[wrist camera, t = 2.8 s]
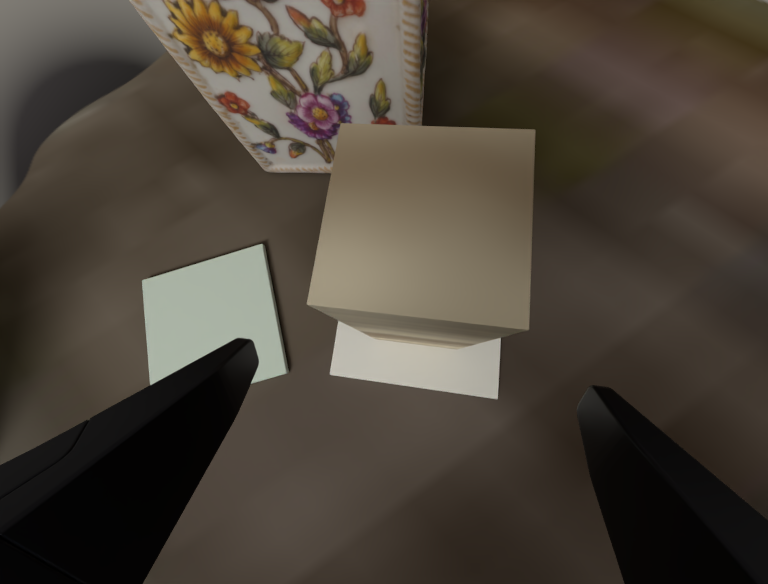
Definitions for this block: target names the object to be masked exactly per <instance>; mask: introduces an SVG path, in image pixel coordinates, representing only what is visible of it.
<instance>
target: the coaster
mask: <svg viewBox="0 0 768 584" xmlns="http://www.w3.org/2000/svg"><path fill="white" fill-rule="evenodd" d="M142 287H143V299H144V312H145V325H146V337H147V350H148V363H149V375H150V385H152V384H154V383H155V382H157V381H159V380H161V379H163V378H165V377H166V376H168V375H170V374H172V373H174V372H175V371H177V370H179V369H181V368H183V367H185V366H186V365H188V364H190V363H192V362H194V361H196V360H197V359H199V358H201V357H203V356H205V355H207V354H208V353H210V352H212V351H214V350H216V349H218V348H219V347H221V346H223V345H225V344H227V343H228V342H230V341H232V340H234V339H236V338H246V339H251V340H252V341H253V342H254V344H255V348H256V351H257V355H258V358H259V365H258V368H257V371H256V373H255V375H254V378H253V380H252V382H251V384H252V383H255V382H259V381H262V380H266V379H269V378H273V377H276V376H280V375H283V374H287V373H289V370H288V365H287V359H286V354H285V349H284V344H283V338H282V333H281V328H280V323H279V317H278V312H277V307H276V302H275V296H274V291H273V286H272V281H271V275H270V270H269V265H268V260H267V254H266V249H265V245H263V244H259V245H256V246H253V247H250V248H246V249H243V250H240V251H237V252H233V253H230V254H227V255H223V256H220V257H217V258H214V259H210V260H207V261H204V262H201V263H197V264H194V265H191V266H188V267H184V268H181V269H178V270H175V271H171V272H168V273H165V274H162V275H158V276H155V277H152V278H148V279H145V280H142Z"/></svg>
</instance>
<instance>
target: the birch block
mask: <svg viewBox="0 0 768 584" xmlns="http://www.w3.org/2000/svg"><path fill="white" fill-rule="evenodd" d="M534 158H535V130H533V129H503V128H472V127H441V126H411V125H380V124H350V123H341V124H340V129H339V135H338V140H337V145H336V151H335V156H334V162H333V167H332V172H331V178H330V183H329V188H328V194H327V199H326V204H325V210H324V215H323V220H322V226H321V231H320V236H319V242H318V247H317V252H316V258H315V263H314V269H313V274H312V279H311V285H310V290H309V295H308V301H307V305H309V306H311V307H313V308H315V309H317V310H319V311H321V312H323V313H325V314H327V315H329V316H331V317H333V318H335V319H336V320H338V321H340V322H342V323H344V324H346V325H348V326H350V327H352V328H354V329H356V330H358V331H360V332H362V333H364V334H366V335H368V336H370V337H372V338H374V339H378V340H386V341H394V342H402V343H410V344H418V345H425V346H433V347H441V348H449V349H461V348H464V347H468V346H472V345H476V344H479V343H483V342H487V341H490V340H494V339H498V338H502V337H505V336H509V335H513V334H516V333H520V332H524V331H528V330H529V314H530V283H531V252H532V221H533V189H534Z"/></svg>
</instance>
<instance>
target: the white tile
mask: <svg viewBox="0 0 768 584" xmlns="http://www.w3.org/2000/svg"><path fill="white" fill-rule="evenodd" d="M500 345H501V338H498V339H494V340H490V341H487V342H483V343H479V344H476V345H472V346H468V347H464V348H461V349H449V348H441V347H433V346H425V345H418V344H410V343H402V342H394V341H386V340H378V339H374V338H372V337H370V336H368V335H366V334H364V333H362V332H360V331H358V330H356V329H354V328H352V327H350V326H348V325H346V324H344V323H342V322H340V321H338V327H337V333H336V339H335V345H334V351H333V357H332V364H331V370H330V375H335V376H342V377H349V378H356V379H363V380H369V381H376V382H383V383H390V384H397V385H404V386H410V387H417V388H424V389H431V390H438V391H445V392H452V393H458V394H465V395H472V396H479V397H486V398H493V399H498V385H499V365H500Z"/></svg>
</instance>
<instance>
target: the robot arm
mask: <svg viewBox="0 0 768 584" xmlns="http://www.w3.org/2000/svg"><path fill="white" fill-rule="evenodd" d="M258 365H259V358H258V355H257V351H256V348H255V344H254V342H253V341H252V340H251V339H246V338H236V339H234V340H232V341H230V342H228V343H227V344H225V345H223V346H221V347H219V348H218V349H216V350H214V351H212V352H210V353H208V354H207V355H205V356H203V357H201V358H199V359H197V360H196V361H194V362H192V363H190V364H188V365H186V366H185V367H183V368H181V369H179V370H177V371H175V372H174V373H172V374H170V375H168V376H166V377H165V378H163V379H161V380H159V381H157V382H155V383H154V384H152V385H150V386H148V387H146V388H144V389H143V390H141V391H139V392H137V393H135V394H133V395H132V396H130V397H128V398H126V399H124V400H122V401H121V402H119V403H117V404H115V405H113V406H111V407H110V408H108V409H106V410H104V411H102V412H101V413H99V414H97V415H95V416H93V417H92V418H90V420H86V421H84V422H82V423H80V424H78V425H77V426H75V427H73V428H71V429H69V430H68V431H66V432H64V433H62V434H60V435H58V436H56V437H54V438H52V439H51V440H49V441H47V442H45V443H43V444H41V445H39V446H37V447H36V448H34V449H32V450H30V451H28V452H26V453H24V454H22V455H20V456H18V457H16V458H14V459H12V460H10V461H8V462H6V463H4V464H2V465H0V584H143V582H144V580H145V579H146V577H147V575H148V573H149V571H150V570H151V568H152V566H153V564H154V562H155V561H156V559H157V557H158V555H159V554H160V552H161V550H162V548H163V546H164V545H165V543H166V541H167V539H168V538H169V536H170V534H171V532H172V530H173V529H174V527H175V525H176V523H177V522H178V520H179V518H180V516H181V514H182V513H183V511H184V509H185V507H186V505H187V504H188V502H189V500H190V498H191V497H192V495H193V493H194V491H195V489H196V488H197V486H198V484H199V482H200V481H201V479H202V477H203V475H204V473H205V472H206V470H207V468H208V466H209V465H210V463H211V461H212V459H213V457H214V456H215V454H216V452H217V450H218V448H219V447H220V445H221V443H222V441H223V440H224V438H225V436H226V434H227V432H228V431H229V429H230V427H231V425H232V423H233V422H234V420H235V418H236V416H237V414H238V412H239V410H240V407H241V405H242V403H243V401H244V398H245V396H246V394H247V391H248V389H249V387H250V385H251V382H252V380H253V378H254V375H255V373H256V371H257V368H258ZM577 416H578V421H579V426H580V431H581V436H582V440H583V445H584V450H585V455H586V460H587V464H588V469H589V473H590V477H591V480H592V484H593V487H594V490H595V493H596V496H597V500H598V503H599V506H600V509H601V512H602V515H603V518H604V521H605V524H606V527H607V531H608V534H609V537H610V540H611V543H612V546H613V549H614V552H615V555H616V558H617V562H618V565H619V568H620V571H621V574H622V577H623V580H624V583H625V584H768V520H767V519H766V518H764V517H763V516H762V515H761V514H760V513H758V512H757V511H756V510H755V509H754V508H752V507H751V506H750V505H749V504H748V503H747V502H745V501H744V500H743V499H742V498H741V497H739V496H738V495H737V494H736V493H735V492H734V491H732V490H731V489H730V488H729V487H728V486H726V485H725V484H724V483H723V482H722V481H720V480H719V479H718V478H717V477H716V476H715V475H713V474H712V473H711V472H710V471H709V470H707V469H706V468H705V467H704V466H703V465H701V464H700V463H699V462H698V461H697V460H696V459H694V458H693V457H692V456H691V455H690V454H688V453H687V452H686V451H685V450H684V449H683V448H681V447H680V446H679V445H678V444H677V443H675V442H674V441H673V440H672V439H671V438H669V437H668V436H667V435H666V434H665V433H664V432H662V431H661V430H660V429H659V428H658V427H656V426H655V425H654V424H653V423H652V422H651V421H649V420H648V419H647V418H646V417H645V416H643V415H642V414H641V413H640V412H639V411H637V410H636V409H635V408H634V407H633V406H632V405H630V404H629V403H628V402H627V401H626V400H624V399H623V398H622V397H621V396H620V395H618V394H617V393H616V392H615V391H614V390H612V389H611V388H609V387H603V386H596V385H591V386H590V387H588V389H587V390H586V392H585V394H584V396H583V397H582V399H581V401H580V402H579V404H578V407H577Z"/></svg>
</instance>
